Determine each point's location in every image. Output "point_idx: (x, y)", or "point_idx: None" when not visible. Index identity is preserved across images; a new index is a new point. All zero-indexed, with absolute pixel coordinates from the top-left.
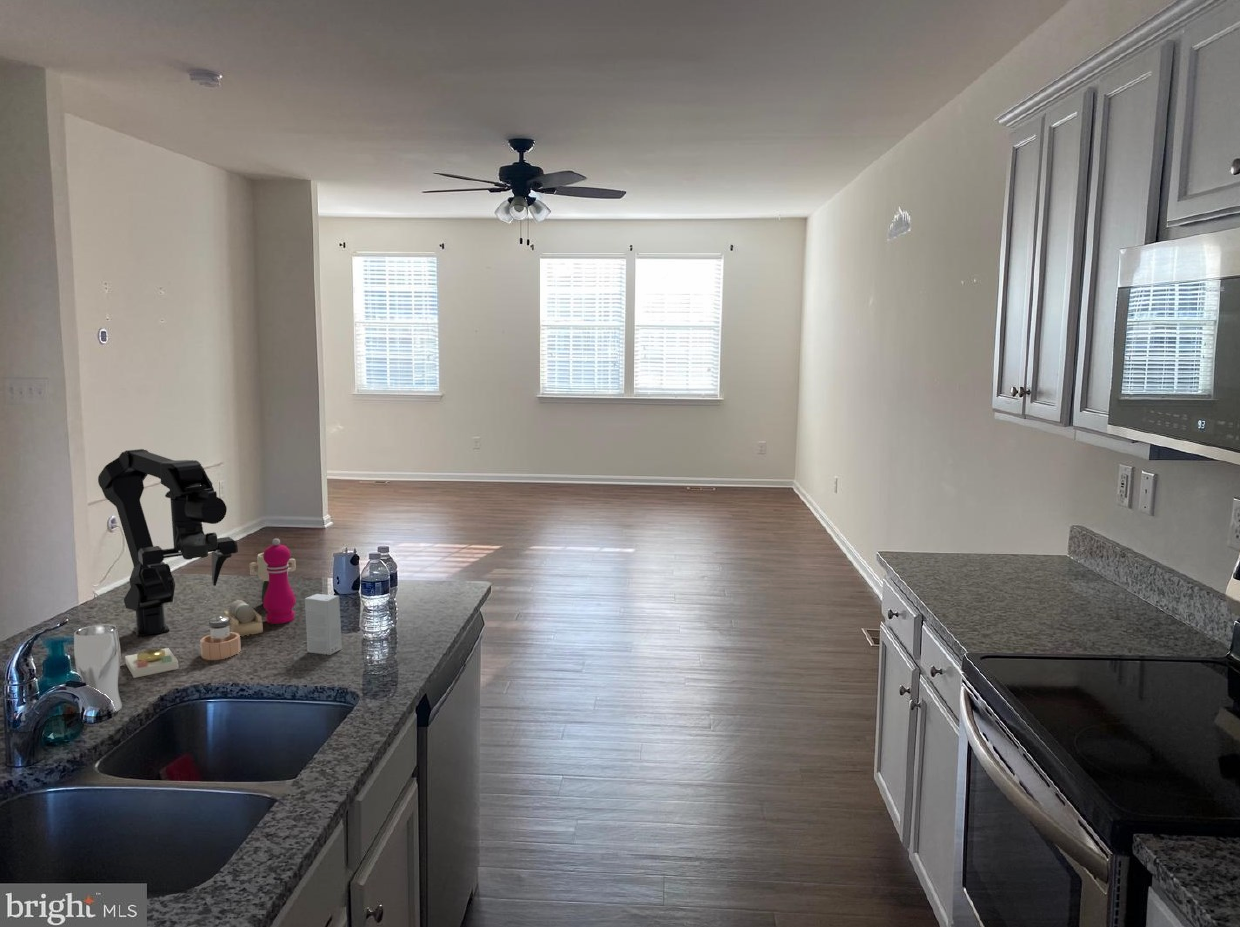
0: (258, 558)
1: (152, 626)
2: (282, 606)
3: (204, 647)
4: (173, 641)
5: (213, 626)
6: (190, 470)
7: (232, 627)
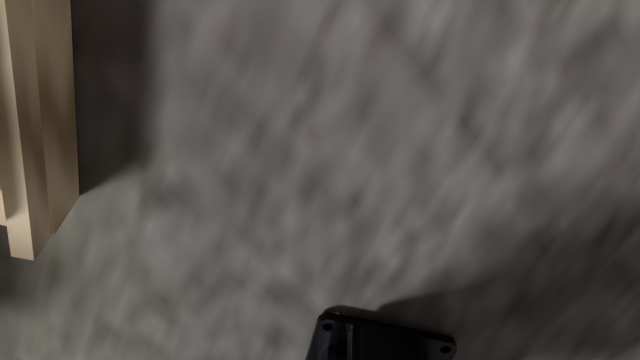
0: None
1: (400, 353)
2: None
3: None
4: (378, 175)
5: None
6: None
7: (44, 23)
